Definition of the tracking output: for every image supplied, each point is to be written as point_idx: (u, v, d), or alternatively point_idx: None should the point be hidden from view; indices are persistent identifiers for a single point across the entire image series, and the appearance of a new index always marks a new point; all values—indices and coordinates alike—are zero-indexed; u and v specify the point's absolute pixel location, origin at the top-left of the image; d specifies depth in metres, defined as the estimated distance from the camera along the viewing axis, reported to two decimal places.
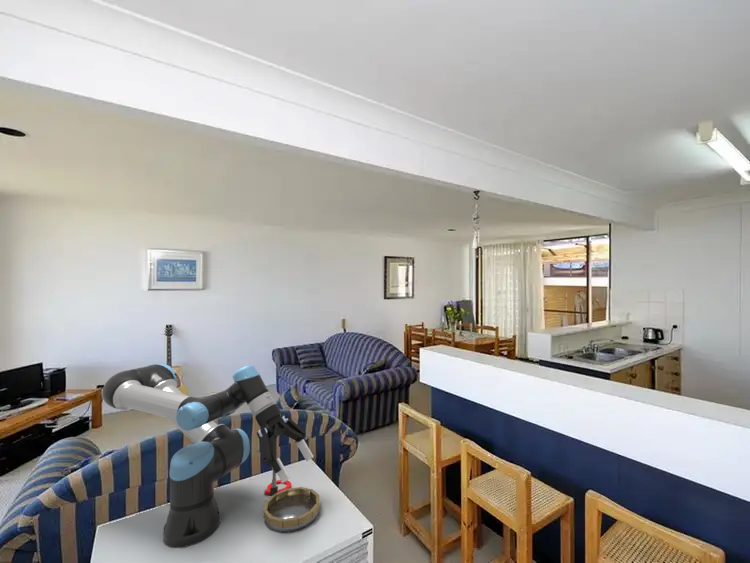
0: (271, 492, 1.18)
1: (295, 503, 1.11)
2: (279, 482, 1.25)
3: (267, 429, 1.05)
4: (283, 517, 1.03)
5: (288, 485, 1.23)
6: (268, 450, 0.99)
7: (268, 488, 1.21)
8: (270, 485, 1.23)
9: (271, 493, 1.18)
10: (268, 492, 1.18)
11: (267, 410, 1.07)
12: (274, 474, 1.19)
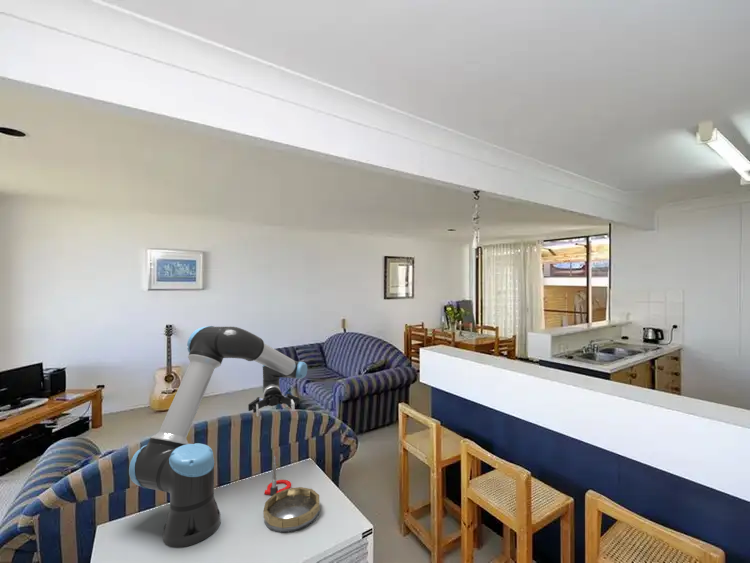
0: (271, 492, 1.18)
1: (295, 503, 1.11)
2: (279, 482, 1.25)
3: None
4: (283, 517, 1.03)
5: (288, 485, 1.23)
6: None
7: (268, 488, 1.21)
8: (270, 485, 1.23)
9: (271, 493, 1.18)
10: (268, 492, 1.18)
11: None
12: (274, 474, 1.19)
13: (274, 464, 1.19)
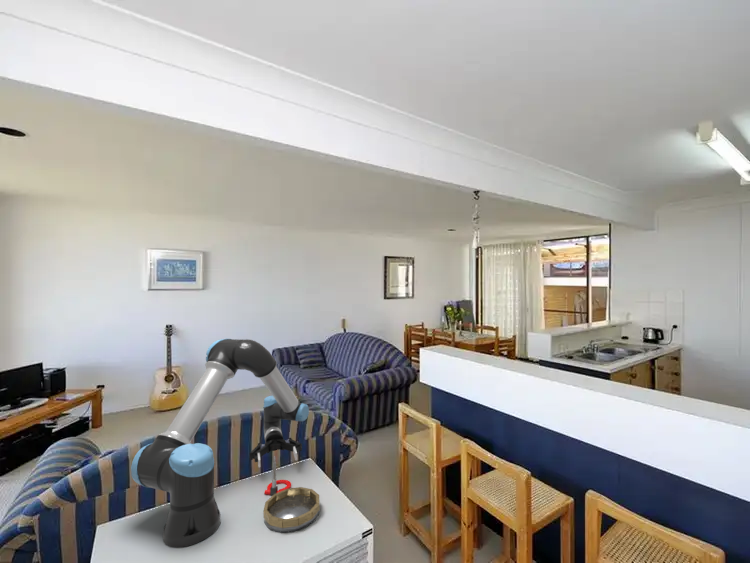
0: (271, 492, 1.18)
1: (295, 503, 1.11)
2: (279, 482, 1.25)
3: None
4: (283, 517, 1.03)
5: (288, 485, 1.23)
6: None
7: (268, 488, 1.21)
8: (270, 485, 1.23)
9: (271, 493, 1.18)
10: (268, 492, 1.18)
11: None
12: (274, 474, 1.19)
13: (274, 464, 1.19)
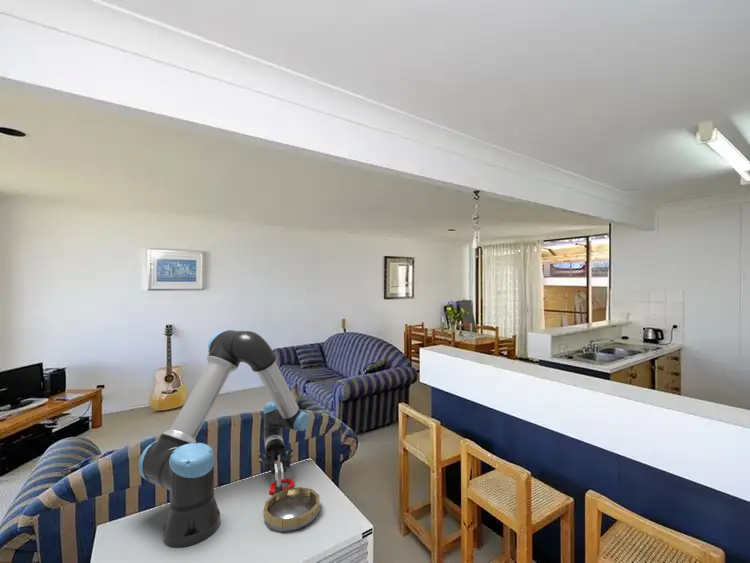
0: (276, 491, 1.18)
1: (295, 503, 1.11)
2: (281, 481, 1.26)
3: None
4: (283, 517, 1.03)
5: (291, 483, 1.23)
6: None
7: (272, 487, 1.21)
8: (273, 484, 1.23)
9: (276, 492, 1.18)
10: (273, 491, 1.18)
11: None
12: (279, 473, 1.19)
13: (279, 463, 1.19)
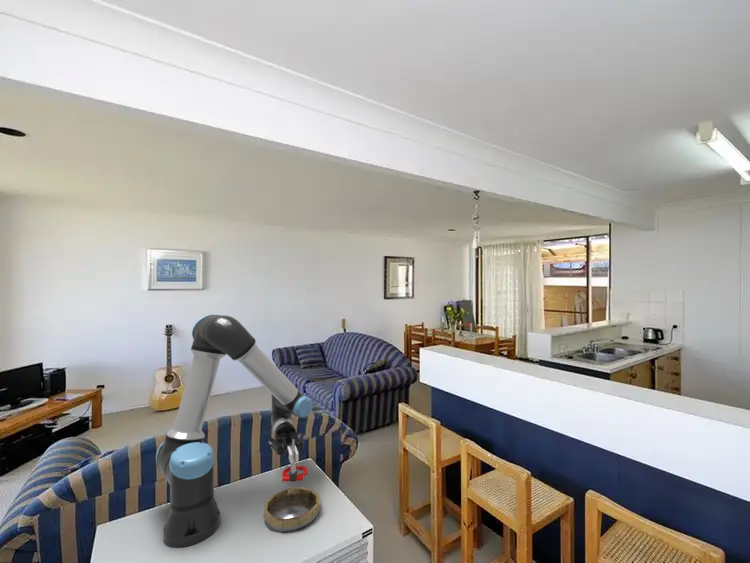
0: (290, 478, 1.08)
1: (295, 503, 1.11)
2: None
3: None
4: (283, 517, 1.03)
5: (305, 470, 1.13)
6: None
7: (284, 475, 1.10)
8: (285, 472, 1.12)
9: (290, 479, 1.08)
10: (287, 478, 1.08)
11: None
12: (293, 458, 1.09)
13: (293, 447, 1.09)
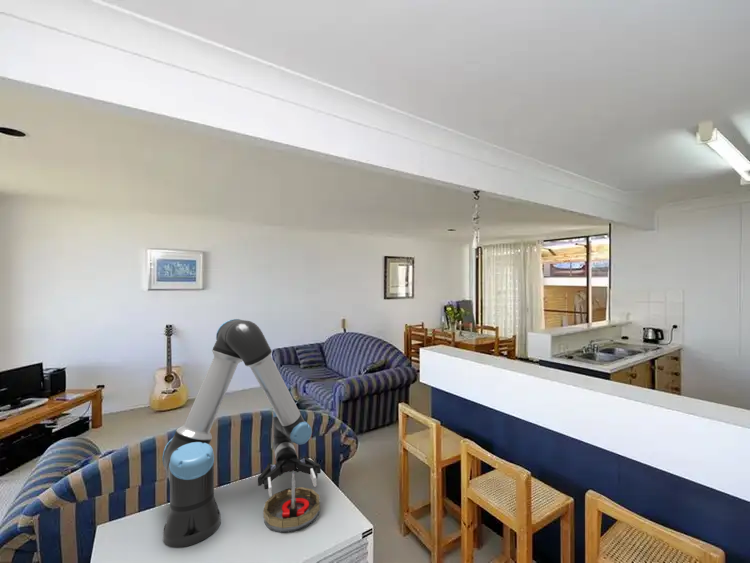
0: (291, 514, 1.03)
1: None
2: None
3: None
4: None
5: (306, 503, 1.09)
6: None
7: (284, 510, 1.05)
8: (285, 506, 1.07)
9: (291, 515, 1.03)
10: (287, 514, 1.03)
11: None
12: (294, 493, 1.04)
13: (293, 481, 1.04)
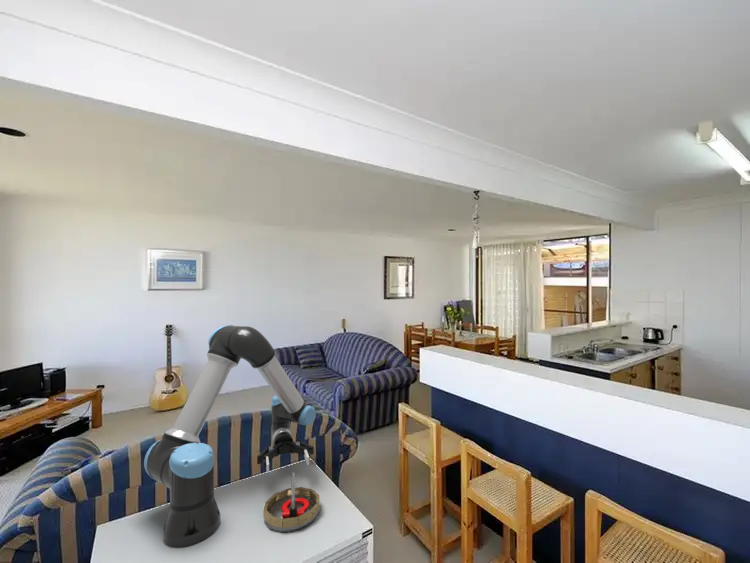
0: (291, 514, 1.03)
1: None
2: None
3: None
4: None
5: (306, 503, 1.09)
6: None
7: (284, 510, 1.05)
8: (285, 506, 1.07)
9: (291, 515, 1.03)
10: (287, 514, 1.03)
11: None
12: (294, 493, 1.04)
13: (293, 481, 1.04)
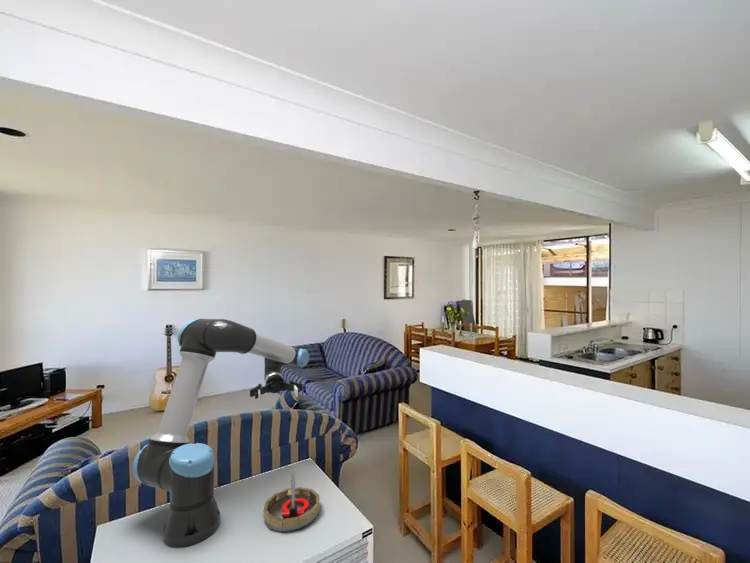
0: (291, 514, 1.03)
1: None
2: None
3: None
4: None
5: (306, 503, 1.09)
6: None
7: (284, 510, 1.05)
8: (285, 506, 1.07)
9: (291, 515, 1.03)
10: (287, 514, 1.03)
11: None
12: (293, 493, 1.04)
13: (293, 481, 1.04)
